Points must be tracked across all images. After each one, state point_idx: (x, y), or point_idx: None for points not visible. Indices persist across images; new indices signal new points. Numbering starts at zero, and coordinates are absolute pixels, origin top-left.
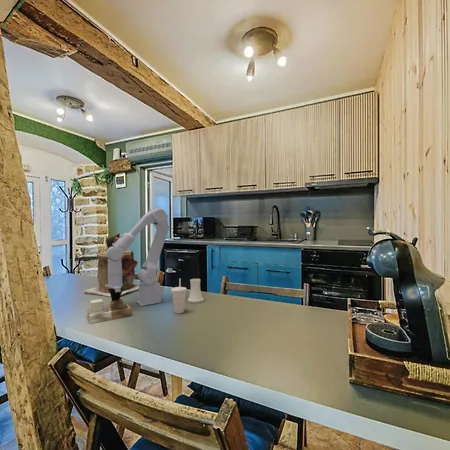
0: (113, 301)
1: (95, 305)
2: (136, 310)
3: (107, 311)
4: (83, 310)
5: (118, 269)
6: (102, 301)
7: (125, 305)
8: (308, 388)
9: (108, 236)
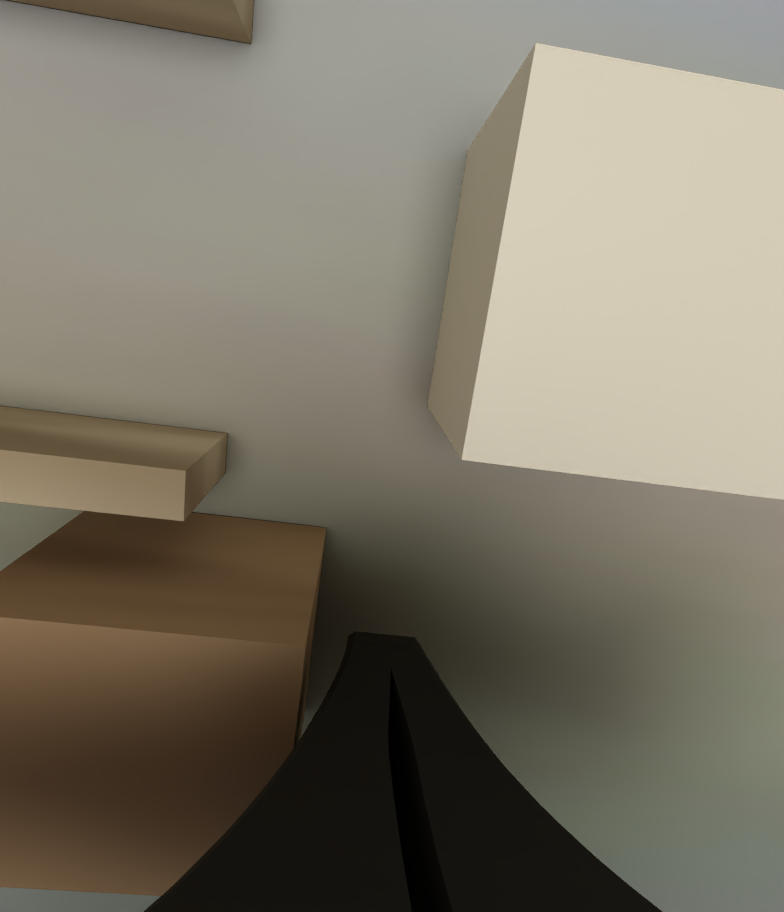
0: (181, 699)
1: (480, 217)
2: None
3: (123, 432)
4: (766, 7)
5: None
6: (465, 441)
7: None
8: None
9: None
